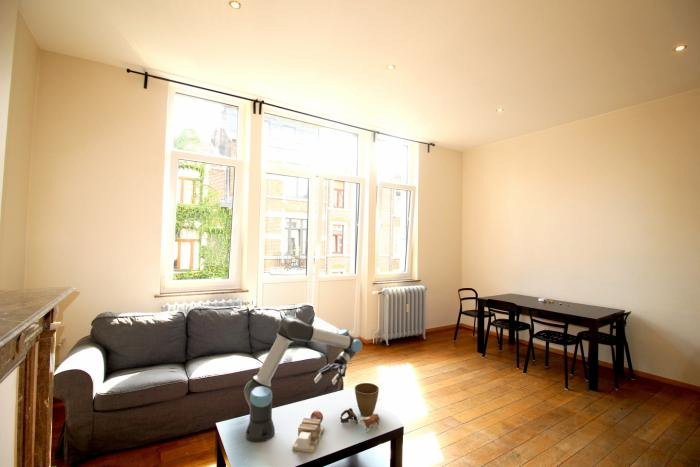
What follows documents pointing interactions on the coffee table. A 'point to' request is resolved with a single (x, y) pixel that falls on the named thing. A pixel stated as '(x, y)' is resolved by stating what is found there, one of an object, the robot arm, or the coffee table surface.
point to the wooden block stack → (316, 416)
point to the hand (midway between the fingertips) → (323, 382)
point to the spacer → (304, 440)
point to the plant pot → (366, 398)
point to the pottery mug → (350, 416)
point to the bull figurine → (369, 421)
